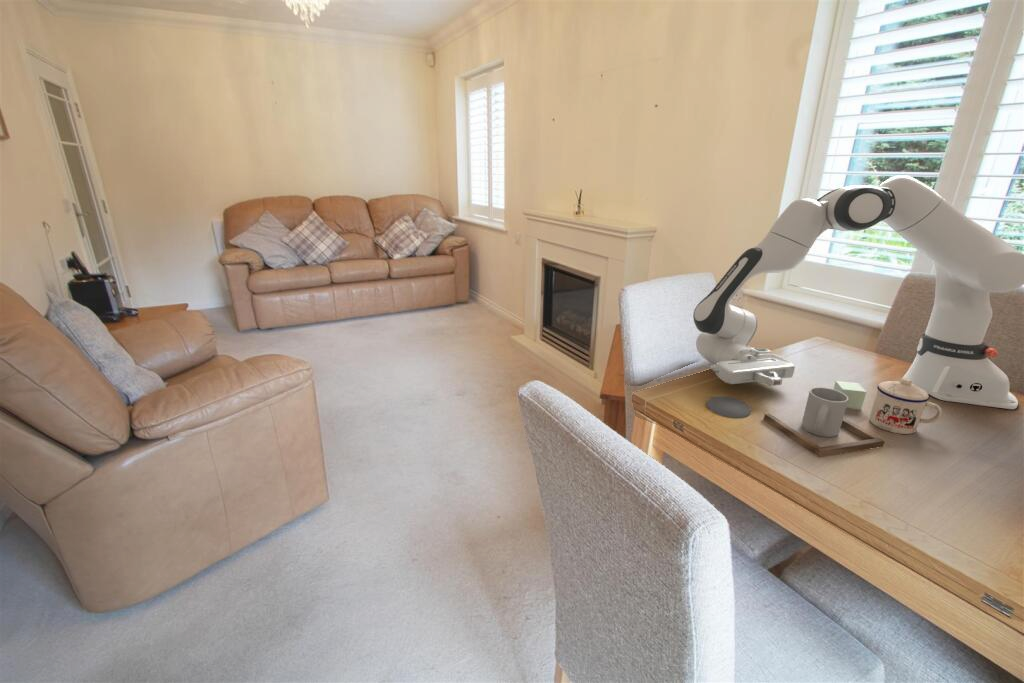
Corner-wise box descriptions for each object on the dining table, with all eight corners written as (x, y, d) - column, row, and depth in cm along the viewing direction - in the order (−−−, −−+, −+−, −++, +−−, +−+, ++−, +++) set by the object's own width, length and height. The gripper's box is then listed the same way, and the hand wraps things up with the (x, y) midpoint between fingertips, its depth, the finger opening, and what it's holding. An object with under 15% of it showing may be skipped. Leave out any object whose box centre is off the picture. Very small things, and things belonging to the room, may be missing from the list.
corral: (763, 419, 109) (764, 413, 109) (821, 411, 113) (822, 406, 112) (818, 457, 95) (820, 451, 94) (882, 446, 98) (884, 440, 98)
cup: (840, 428, 105) (850, 393, 102) (834, 447, 98) (845, 410, 95) (804, 418, 110) (812, 384, 107) (796, 435, 102) (804, 400, 99)
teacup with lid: (867, 427, 106) (881, 381, 101) (867, 411, 112) (880, 367, 108) (936, 444, 99) (954, 395, 95) (931, 426, 106) (948, 380, 102)
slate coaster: (720, 394, 121) (721, 392, 121) (758, 410, 113) (758, 407, 113) (698, 406, 116) (698, 404, 115) (735, 424, 108) (736, 421, 108)
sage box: (853, 400, 118) (858, 383, 116) (861, 409, 113) (866, 391, 112) (831, 398, 119) (835, 380, 117) (837, 407, 115) (842, 389, 113)
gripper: (708, 354, 124) (743, 375, 111) (772, 348, 128) (813, 367, 116) (704, 375, 126) (738, 398, 114) (768, 368, 130) (807, 390, 118)
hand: (777, 382), depth 115 cm, fingers closed
